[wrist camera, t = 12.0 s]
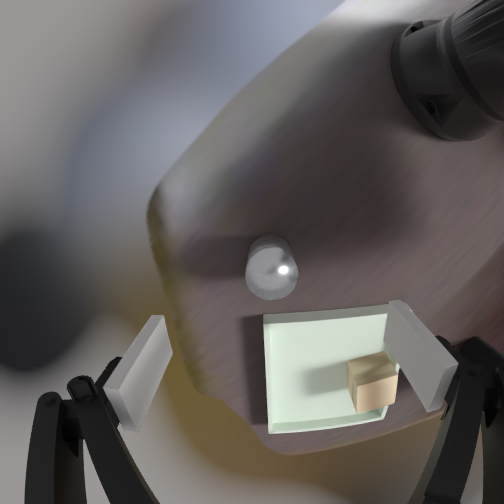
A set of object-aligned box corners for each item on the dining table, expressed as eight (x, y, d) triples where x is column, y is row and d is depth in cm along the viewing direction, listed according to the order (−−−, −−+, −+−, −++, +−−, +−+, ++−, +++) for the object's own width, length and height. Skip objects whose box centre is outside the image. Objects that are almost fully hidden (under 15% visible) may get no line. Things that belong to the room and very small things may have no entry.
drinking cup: (486, 318, 31) (565, 392, 12) (487, 351, 33) (551, 423, 14) (449, 346, 33) (523, 436, 13) (453, 376, 34) (511, 460, 15)
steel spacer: (246, 235, 29) (243, 251, 23) (290, 233, 29) (298, 248, 23) (249, 276, 30) (247, 301, 25) (291, 274, 30) (298, 298, 24)
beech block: (383, 350, 32) (398, 374, 27) (382, 378, 33) (394, 403, 28) (346, 360, 32) (357, 386, 28) (347, 388, 34) (356, 414, 29)
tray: (263, 314, 31) (263, 324, 29) (404, 301, 31) (412, 309, 29) (268, 422, 36) (268, 433, 34) (379, 409, 36) (383, 418, 34)
